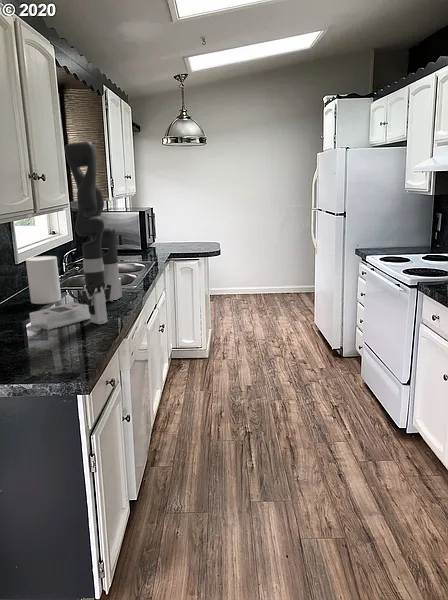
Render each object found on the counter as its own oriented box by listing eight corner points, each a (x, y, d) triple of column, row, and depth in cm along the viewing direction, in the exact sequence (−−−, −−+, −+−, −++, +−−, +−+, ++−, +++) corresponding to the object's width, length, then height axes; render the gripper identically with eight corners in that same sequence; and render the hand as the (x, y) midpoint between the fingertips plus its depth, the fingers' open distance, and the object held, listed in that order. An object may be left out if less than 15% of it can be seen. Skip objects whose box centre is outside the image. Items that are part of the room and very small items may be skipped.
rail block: (74, 313, 213) (73, 302, 212) (92, 318, 206) (90, 305, 205) (30, 325, 198) (29, 312, 197) (48, 330, 191) (46, 317, 190)
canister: (24, 303, 235) (19, 260, 230) (41, 296, 248) (36, 255, 243) (51, 304, 232) (46, 260, 227) (66, 297, 244) (62, 256, 240)
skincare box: (108, 322, 199) (105, 292, 196) (98, 325, 195) (95, 294, 193) (99, 319, 203) (96, 290, 200) (89, 322, 200) (86, 292, 197)
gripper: (102, 266, 202) (106, 307, 206) (72, 271, 191) (76, 315, 195) (114, 267, 197) (118, 310, 201) (84, 273, 186) (88, 318, 191)
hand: (97, 312), depth 198 cm, fingers closed on skincare box, 4 cm apart
